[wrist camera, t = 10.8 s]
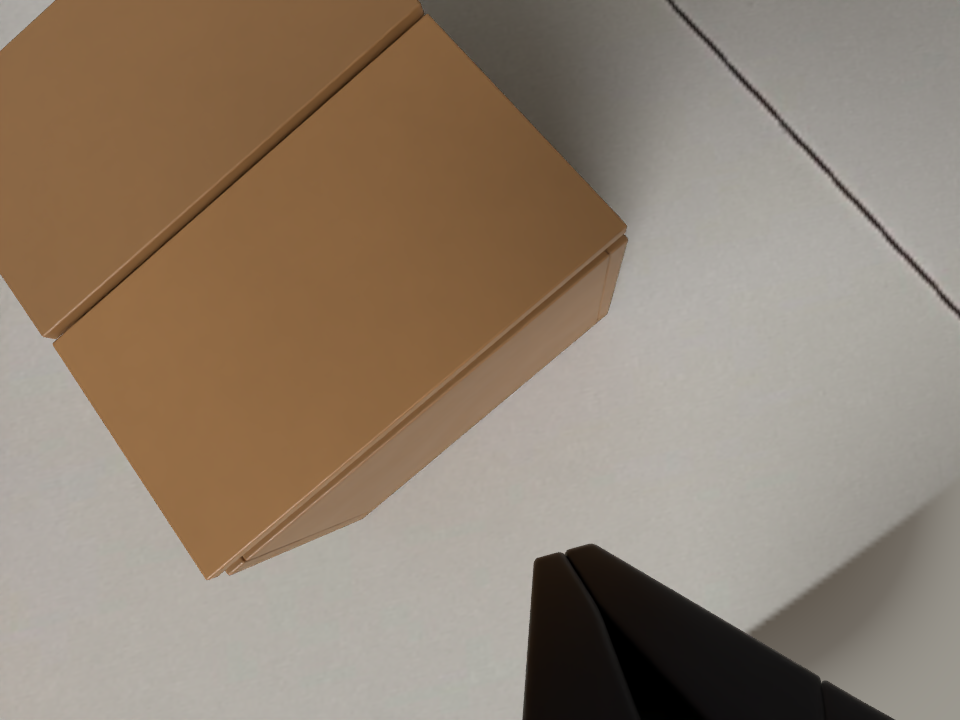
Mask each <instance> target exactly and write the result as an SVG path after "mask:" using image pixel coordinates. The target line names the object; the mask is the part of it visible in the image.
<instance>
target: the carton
mask: <svg viewBox="0 0 960 720" xmlns="http://www.w3.org/2000/svg"><path fill="white" fill-rule="evenodd" d="M423 15H424V11H423V9H422V6H421V3H420V2H419V1H418V0H55V1H54V2H53V3H52V4H51V5H50V6H49V7H48V8H47V9H45V10H44V11H43V12H42V13H41V14H40V15H39V16H38V17H37V18H36V19H35V20H33V21H32V22H31V23H30V24H29V25H28V26H27V27H26V28H25V29H24V30H23V31H21V32H20V33H19V34H18V35H17V36H16V37H15V38H14V39H13V40H12V41H11V42H9V43H8V44H7V45H6V46H5V47H4V48H3V49H2V50H1V51H0V274H1V275H2V277H3V278H4V280H5V281H6V283H7V284H8V286H9V287H10V289H11V290H12V292H13V293H14V295H15V296H16V298H17V299H18V301H19V302H20V304H21V305H22V307H23V308H24V310H25V311H26V313H27V314H28V316H29V317H30V319H31V320H32V322H33V323H34V325H35V326H36V328H37V329H38V331H39V332H40V334H41V335H42V336H43V337H47V338H53V339H57V338H58V337H59V336H61V335H62V334H63V333H65V332H66V331H67V330H68V329H69V328H70V327H72V326H73V325H74V324H75V323H76V322H77V321H78V320H80V319H81V318H82V317H83V316H84V315H85V314H86V313H87V312H89V311H90V310H91V309H92V308H93V307H94V306H95V305H97V304H98V303H99V302H100V301H101V300H102V299H103V298H105V297H106V296H107V295H108V294H109V293H110V292H111V291H112V290H114V289H115V288H116V287H117V286H118V285H119V284H120V283H122V282H123V281H124V280H125V279H126V278H127V277H128V276H129V275H131V274H132V273H133V272H134V271H135V270H136V269H137V268H139V267H140V266H141V265H142V264H143V263H144V262H145V261H146V260H148V259H149V258H150V257H151V256H152V255H153V254H154V253H156V252H157V251H158V250H159V249H160V248H161V247H162V246H163V245H165V244H166V243H167V242H168V241H169V240H170V239H171V238H173V237H174V236H175V235H176V234H177V233H178V232H179V231H181V230H182V229H183V228H184V227H185V226H186V225H187V224H188V223H190V222H191V221H192V220H193V219H194V218H195V217H196V216H198V215H199V214H200V213H201V212H202V211H203V210H204V209H205V208H207V207H208V206H209V205H210V204H211V203H212V202H213V201H215V200H216V199H217V198H218V197H219V196H220V195H221V194H222V193H224V192H225V191H226V190H227V189H228V188H229V187H230V186H232V185H233V184H234V183H235V182H236V181H237V180H238V179H239V178H241V177H242V176H243V175H244V174H245V173H246V172H247V171H249V170H250V169H251V168H252V167H253V166H254V165H255V164H257V163H258V162H259V161H260V160H261V159H262V158H263V157H264V156H266V155H267V154H268V153H269V152H270V151H271V150H272V149H274V148H275V147H276V146H277V145H278V144H279V143H280V142H281V141H283V140H284V139H285V138H286V137H287V136H288V135H289V134H291V133H292V132H293V131H294V130H295V129H296V128H297V127H298V126H300V125H301V124H302V123H303V122H304V121H305V120H306V119H308V118H309V117H310V116H311V115H312V114H313V113H314V112H315V111H317V110H318V109H319V108H320V107H321V106H322V105H323V104H325V103H326V102H327V101H328V100H329V99H330V98H331V97H333V96H334V95H335V94H336V93H337V92H338V91H339V90H340V89H342V88H343V87H344V86H345V85H346V84H347V83H348V82H350V81H351V80H352V79H353V78H354V77H355V76H356V75H357V74H359V73H360V72H361V71H362V70H363V69H364V68H365V67H367V66H368V65H369V64H370V63H371V62H372V61H373V60H374V59H376V58H377V57H378V56H379V55H380V54H381V53H382V52H384V51H385V50H386V49H387V48H388V47H389V46H390V45H391V44H393V43H394V42H395V41H396V40H397V39H398V38H399V37H401V36H402V35H403V34H404V33H405V32H406V31H407V30H409V29H410V28H411V27H412V26H413V25H414V24H415V23H416V22H418V21H419V20H420V19H421V18H422V17H423ZM627 242H628V238H627V237H626V236H625V235H624V234H623V235H622V236H621V237H620V238H618V239H617V240H616V241H615V242H614V243H613V244H611V245H610V246H609V247H608V248H607V249H605V250H604V251H603V252H602V253H601V254H600V255H598V256H597V257H596V258H595V259H594V260H592V261H591V262H590V263H589V264H588V265H586V266H585V267H584V268H583V269H582V270H581V271H579V272H578V273H577V274H576V275H575V276H573V277H572V278H571V279H570V280H569V281H568V282H566V283H565V284H564V285H563V286H562V287H560V288H559V289H558V290H557V291H556V292H554V293H553V294H552V295H551V296H550V297H549V298H547V299H546V300H545V301H544V302H543V303H541V304H540V305H539V306H538V307H537V308H535V309H534V310H533V311H532V312H531V313H530V314H528V315H527V316H526V317H525V318H524V319H522V320H521V321H520V322H519V323H518V324H517V325H515V326H514V327H513V328H512V329H511V330H509V331H508V332H507V333H506V334H505V335H503V336H502V337H501V338H500V339H499V340H498V341H496V342H495V343H494V344H493V345H492V346H490V347H489V348H488V349H487V350H486V351H485V352H483V353H482V354H481V355H480V356H479V357H477V358H476V359H475V360H474V361H473V362H471V363H470V364H469V365H468V366H467V367H466V368H464V369H463V370H462V371H461V372H460V373H458V374H457V375H456V376H455V377H454V378H453V379H451V380H450V381H449V382H448V383H447V384H445V385H444V386H443V387H442V388H441V389H439V390H438V391H437V392H436V393H435V394H434V395H432V396H431V397H430V398H429V399H428V400H426V401H425V402H424V403H423V404H422V405H420V406H419V407H418V408H417V409H416V410H415V411H413V412H412V413H411V414H410V415H409V416H407V417H406V418H405V419H404V420H403V421H402V422H400V423H399V424H398V425H397V426H396V427H394V428H393V429H392V430H391V431H390V432H388V433H387V434H386V435H385V436H384V437H383V438H381V439H380V440H379V441H378V442H377V443H375V444H374V445H373V446H372V447H371V448H370V449H368V450H367V451H366V452H365V453H364V454H362V455H361V456H360V457H359V458H358V459H356V460H355V461H354V462H353V463H352V464H351V465H349V466H348V467H347V468H346V469H345V470H343V471H342V472H341V473H340V474H339V475H338V476H336V477H335V478H334V479H333V480H332V481H330V482H329V483H328V484H327V485H326V486H324V487H323V488H322V489H321V490H320V491H319V492H317V493H316V494H315V495H314V496H313V497H311V498H310V499H309V500H308V501H307V502H305V503H304V504H303V505H302V506H301V507H300V508H298V509H297V510H296V511H295V512H294V513H292V514H291V515H290V516H289V517H288V518H287V519H285V520H284V521H283V522H282V523H281V524H279V525H278V526H277V527H276V528H275V529H273V530H272V531H271V532H270V533H269V534H268V535H266V536H265V537H264V538H263V539H262V540H260V541H259V542H258V543H257V544H256V545H255V546H253V547H252V548H251V549H250V550H249V551H247V552H246V553H245V554H244V555H243V556H241V557H240V558H239V559H238V560H237V561H236V562H234V563H233V564H232V565H231V566H230V567H228V568H227V569H226V570H225V571H226V573H227V574H228V575H232V574H235V573H237V572H239V571H242V570H244V569H246V568H249V567H251V566H253V565H256V564H258V563H260V562H263V561H265V560H267V559H270V558H272V557H274V556H277V555H279V554H281V553H284V552H286V551H288V550H291V549H293V548H295V547H298V546H300V545H302V544H305V543H307V542H309V541H312V540H314V539H316V538H319V537H321V536H323V535H326V534H328V533H330V532H333V531H335V530H337V529H340V528H342V527H345V526H347V525H349V524H352V523H354V522H356V521H358V520H361V519H363V518H364V517H365V516H366V515H368V514H369V513H370V512H371V511H372V510H374V509H375V508H376V507H377V506H378V505H380V504H381V503H382V502H383V501H384V500H386V499H387V498H388V497H389V496H390V495H392V494H393V493H394V492H395V491H396V490H398V489H399V488H400V487H401V486H402V485H404V484H405V483H406V482H407V481H408V480H410V479H411V478H412V477H413V476H414V475H415V474H417V473H418V472H419V471H420V470H421V469H423V468H424V467H425V466H426V465H427V464H429V463H430V462H431V461H432V460H433V459H435V458H436V457H437V456H438V455H439V454H441V453H442V452H443V451H444V450H445V449H447V448H448V447H449V446H450V445H451V444H453V443H454V442H455V441H456V440H457V439H458V438H460V437H461V436H462V435H463V434H464V433H466V432H467V431H468V430H469V429H470V428H472V427H473V426H474V425H475V424H476V423H478V422H479V421H480V420H481V419H482V418H484V417H485V416H486V415H487V414H488V413H490V412H491V411H492V410H493V409H494V408H496V407H497V406H498V405H499V404H500V403H501V402H503V401H504V400H505V399H506V398H507V397H509V396H510V395H511V394H512V393H513V392H515V391H516V390H517V389H518V388H519V387H521V386H522V385H523V384H524V383H525V382H527V381H528V380H529V379H530V378H531V377H533V376H534V375H535V374H536V373H537V372H539V371H540V370H541V369H542V368H543V367H544V366H546V365H547V364H548V363H549V362H550V361H552V360H553V359H554V358H555V357H556V356H558V355H559V354H560V353H561V352H562V351H564V350H565V349H566V348H567V347H568V346H570V345H571V344H572V343H573V342H574V341H576V340H577V339H578V338H579V337H580V336H582V335H583V334H584V333H585V332H586V331H588V330H589V329H590V328H591V327H592V326H593V325H595V324H596V323H597V322H598V321H599V320H601V319H602V318H603V317H604V316H605V315H607V313H608V310H609V306H610V303H611V299H612V296H613V292H614V288H615V285H616V281H617V278H618V274H619V271H620V267H621V263H622V260H623V256H624V253H625V249H626V245H627Z"/></svg>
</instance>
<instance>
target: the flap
mask: <svg viewBox="0 0 960 720" xmlns="http://www.w3.org/2000/svg"><path fill="white" fill-rule="evenodd" d="M626 229H627V225H626V224H625V223H624V221H623V220H622V219H621V218H620V217H619V216H618V215H617V214H616V213H615V212H614V211H613V210H612V209H611V208H610V207H609V206H608V204H607V203H606V202H605V201H604V200H603V199H602V198H601V197H600V196H599V195H598V194H597V193H596V192H595V191H594V190H593V189H592V187H591V186H590V185H589V184H588V183H587V182H586V181H585V180H584V179H583V178H582V177H581V176H580V175H579V174H578V173H577V172H576V170H575V169H574V168H573V167H572V166H571V165H570V164H569V163H568V162H567V161H566V160H565V159H564V158H563V157H562V156H561V154H560V153H559V152H558V151H557V150H556V149H555V148H554V147H553V146H552V145H551V144H550V143H549V142H548V141H547V140H546V139H545V137H544V136H543V135H542V134H541V133H540V132H539V131H538V130H537V129H536V128H535V127H534V126H533V125H532V124H531V123H530V122H529V120H528V119H527V118H526V117H525V116H524V115H523V114H522V113H521V112H520V111H519V110H518V109H517V108H516V107H515V106H514V105H513V103H512V102H511V101H510V100H509V99H508V98H507V97H506V96H505V95H504V94H503V93H502V92H501V91H500V90H499V89H498V88H497V86H496V85H495V84H494V83H493V82H492V81H491V80H490V79H489V78H488V77H487V76H486V75H485V74H484V73H483V72H482V71H481V69H480V68H479V67H478V66H477V65H476V64H475V63H474V62H473V61H472V60H471V59H470V58H469V57H468V56H467V55H466V54H465V52H464V51H463V50H462V49H461V48H460V47H459V46H458V45H457V44H456V43H455V42H454V41H453V40H452V39H451V38H450V37H449V35H448V34H447V33H446V32H445V31H444V30H443V29H442V28H441V27H440V26H439V25H438V24H437V23H436V22H435V21H434V20H433V18H432V17H431V16H430V15H429V14H426V15H424V16H423V17H422V18H421V19H420V20H419V21H418V22H416V23H415V24H414V25H413V26H412V27H411V28H410V29H409V30H407V31H406V32H405V33H404V34H403V35H402V36H401V37H399V38H398V39H397V40H396V41H395V42H394V43H393V44H391V45H390V46H389V47H388V48H387V49H386V50H385V51H384V52H382V53H381V54H380V55H379V56H378V57H377V58H376V59H374V60H373V61H372V62H371V63H370V64H369V65H368V66H367V67H365V68H364V69H363V70H362V71H361V72H360V73H359V74H357V75H356V76H355V77H354V78H353V79H352V80H351V81H350V82H348V83H347V84H346V85H345V86H344V87H343V88H342V89H340V90H339V91H338V92H337V93H336V94H335V95H334V96H333V97H331V98H330V99H329V100H328V101H327V102H326V103H325V104H323V105H322V106H321V107H320V108H319V109H318V110H317V111H315V112H314V113H313V114H312V115H311V116H310V117H309V118H308V119H306V120H305V121H304V122H303V123H302V124H301V125H300V126H298V127H297V128H296V129H295V130H294V131H293V132H292V133H291V134H289V135H288V136H287V137H286V138H285V139H284V140H283V141H281V142H280V143H279V144H278V145H277V146H276V147H275V148H274V149H272V150H271V151H270V152H269V153H268V154H267V155H266V156H264V157H263V158H262V159H261V160H260V161H259V162H258V163H257V164H255V165H254V166H253V167H252V168H251V169H250V170H249V171H247V172H246V173H245V174H244V175H243V176H242V177H241V178H239V179H238V180H237V181H236V182H235V183H234V184H233V185H232V186H230V187H229V188H228V189H227V190H226V191H225V192H224V193H222V194H221V195H220V196H219V197H218V198H217V199H216V200H215V201H213V202H212V203H211V204H210V205H209V206H208V207H207V208H205V209H204V210H203V211H202V212H201V213H200V214H199V215H198V216H196V217H195V218H194V219H193V220H192V221H191V222H190V223H188V224H187V225H186V226H185V227H184V228H183V229H182V230H181V231H179V232H178V233H177V234H176V235H175V236H174V237H173V238H171V239H170V240H169V241H168V242H167V243H166V244H165V245H163V246H162V247H161V248H160V249H159V250H158V251H157V252H156V253H154V254H153V255H152V256H151V257H150V258H149V259H148V260H146V261H145V262H144V263H143V264H142V265H141V266H140V267H139V268H137V269H136V270H135V271H134V272H133V273H132V274H131V275H129V276H128V277H127V278H126V279H125V280H124V281H123V282H122V283H120V284H119V285H118V286H117V287H116V288H115V289H114V290H112V291H111V292H110V293H109V294H108V295H107V296H106V297H105V298H103V299H102V300H101V301H100V302H99V303H98V304H97V305H95V306H94V307H93V308H92V309H91V310H90V311H89V312H87V313H86V314H85V315H84V316H83V317H82V318H81V319H80V320H78V321H77V322H76V323H75V324H74V325H73V326H72V327H70V328H69V329H68V330H67V331H66V332H65V333H64V334H63V335H61V336H60V337H59V338H58V339H57V340H56V341H55V342H53V346H54V347H55V349H56V351H57V352H58V354H59V355H60V357H61V358H62V360H63V361H64V363H65V364H66V366H67V367H68V369H69V370H70V372H71V374H72V375H73V377H74V378H75V380H76V381H77V383H78V384H79V386H80V387H81V389H82V390H83V392H84V393H85V395H86V397H87V398H88V400H89V401H90V403H91V404H92V406H93V407H94V409H95V410H96V412H97V413H98V415H99V416H100V418H101V419H102V421H103V423H104V424H105V426H106V427H107V429H108V430H109V432H110V433H111V435H112V436H113V438H114V439H115V441H116V442H117V444H118V446H119V447H120V449H121V450H122V452H123V453H124V455H125V456H126V458H127V459H128V461H129V462H130V464H131V465H132V467H133V469H134V470H135V472H136V473H137V475H138V476H139V478H140V479H141V481H142V482H143V484H144V485H145V487H146V488H147V490H148V491H149V493H150V495H151V496H152V498H153V499H154V501H155V502H156V504H157V505H158V507H159V508H160V510H161V511H162V513H163V514H164V516H165V518H166V519H167V521H168V522H169V524H170V525H171V527H172V528H173V530H174V531H175V533H176V534H177V536H178V537H179V539H180V541H181V542H182V544H183V545H184V547H185V548H186V550H187V551H188V553H189V554H190V556H191V557H192V559H193V560H194V562H195V563H196V565H197V567H198V568H199V570H200V571H201V573H202V574H203V576H204V577H205V579H206V580H210V579H212V578H215V577H218V576H219V575H220V574H221V573H222V572H224V571H225V570H226V569H227V568H228V567H230V566H231V565H232V564H233V563H234V562H236V561H237V560H238V559H239V558H240V557H241V556H243V555H244V554H245V553H246V552H247V551H249V550H250V549H251V548H252V547H253V546H255V545H256V544H257V543H258V542H259V541H260V540H262V539H263V538H264V537H265V536H266V535H268V534H269V533H270V532H271V531H272V530H273V529H275V528H276V527H277V526H278V525H279V524H281V523H282V522H283V521H284V520H285V519H287V518H288V517H289V516H290V515H291V514H292V513H294V512H295V511H296V510H297V509H298V508H300V507H301V506H302V505H303V504H304V503H305V502H307V501H308V500H309V499H310V498H311V497H313V496H314V495H315V494H316V493H317V492H319V491H320V490H321V489H322V488H323V487H324V486H326V485H327V484H328V483H329V482H330V481H332V480H333V479H334V478H335V477H336V476H338V475H339V474H340V473H341V472H342V471H343V470H345V469H346V468H347V467H348V466H349V465H351V464H352V463H353V462H354V461H355V460H356V459H358V458H359V457H360V456H361V455H362V454H364V453H365V452H366V451H367V450H368V449H370V448H371V447H372V446H373V445H374V444H375V443H377V442H378V441H379V440H380V439H381V438H383V437H384V436H385V435H386V434H387V433H388V432H390V431H391V430H392V429H393V428H394V427H396V426H397V425H398V424H399V423H400V422H402V421H403V420H404V419H405V418H406V417H407V416H409V415H410V414H411V413H412V412H413V411H415V410H416V409H417V408H418V407H419V406H420V405H422V404H423V403H424V402H425V401H426V400H428V399H429V398H430V397H431V396H432V395H434V394H435V393H436V392H437V391H438V390H439V389H441V388H442V387H443V386H444V385H445V384H447V383H448V382H449V381H450V380H451V379H453V378H454V377H455V376H456V375H457V374H458V373H460V372H461V371H462V370H463V369H464V368H466V367H467V366H468V365H469V364H470V363H471V362H473V361H474V360H475V359H476V358H477V357H479V356H480V355H481V354H482V353H483V352H485V351H486V350H487V349H488V348H489V347H490V346H492V345H493V344H494V343H495V342H496V341H498V340H499V339H500V338H501V337H502V336H503V335H505V334H506V333H507V332H508V331H509V330H511V329H512V328H513V327H514V326H515V325H517V324H518V323H519V322H520V321H521V320H522V319H524V318H525V317H526V316H527V315H528V314H530V313H531V312H532V311H533V310H534V309H535V308H537V307H538V306H539V305H540V304H541V303H543V302H544V301H545V300H546V299H547V298H549V297H550V296H551V295H552V294H553V293H554V292H556V291H557V290H558V289H559V288H560V287H562V286H563V285H564V284H565V283H566V282H568V281H569V280H570V279H571V278H572V277H573V276H575V275H576V274H577V273H578V272H579V271H581V270H582V269H583V268H584V267H585V266H586V265H588V264H589V263H590V262H591V261H592V260H594V259H595V258H596V257H597V256H598V255H600V254H601V253H602V252H603V251H604V250H605V249H607V248H608V247H609V246H610V245H611V244H613V243H614V242H615V241H616V240H617V239H618V238H620V237H621V236H622V235H623V234H624V233H625V232H626Z"/></svg>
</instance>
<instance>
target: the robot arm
mask: <svg viewBox="0 0 960 720" xmlns="http://www.w3.org/2000/svg"><path fill="white" fill-rule="evenodd" d="M523 720H894V719H893V718H891V717H889V716H887V715H885V714H884V713H882V712H880V711H878V710H877V709H875V708H873V707H871V706H869V705H868V704H866V703H864V702H862V701H861V700H859V699H857V698H855V697H853V696H852V695H850V694H848V693H847V692H845V691H844V690H842V689H840V688H838V687H837V686H835V685H833V684H832V683H830V682H828V681H823V682H822V683H821V680H820V678H819V676H817V675H816V674H814V673H812V672H811V671H809V670H807V669H806V668H804V667H802V666H801V665H799V664H797V663H796V662H794V661H792V660H790V659H789V658H787V657H785V656H784V655H782V654H780V653H778V652H777V651H775V650H773V649H772V648H770V647H768V646H767V645H765V644H763V643H762V642H760V641H758V640H757V639H755V638H753V637H751V636H750V635H748V634H746V633H745V632H743V631H741V630H740V629H738V628H736V627H734V626H733V625H731V624H729V623H728V622H726V621H724V620H723V619H721V618H719V617H718V616H716V615H714V614H712V613H711V612H709V611H707V610H706V609H704V608H702V607H701V606H699V605H697V604H695V603H694V602H692V601H690V600H689V599H687V598H685V597H684V596H682V595H680V594H679V593H677V592H675V591H673V590H672V589H670V588H668V587H667V586H665V585H663V584H662V583H660V582H658V581H656V580H655V579H653V578H651V577H650V576H648V575H646V574H645V573H643V572H641V571H640V570H638V569H636V568H634V567H633V566H631V565H629V564H628V563H626V562H624V561H623V560H621V559H619V558H617V557H616V556H614V555H612V554H611V553H609V552H607V551H606V550H604V549H602V548H601V547H599V546H597V545H595V544H587V545H583V546H579V547H576V548H572V549H569V550H567V551H566V553H565V555H564V554H563V553H560V552H558V553H554V554H550V555H547V556H543V557H539V558H537V559H536V560H535V561H534V567H533V581H532V595H531V609H530V623H529V637H528V651H527V665H526V679H525V692H524V706H523Z"/></svg>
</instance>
